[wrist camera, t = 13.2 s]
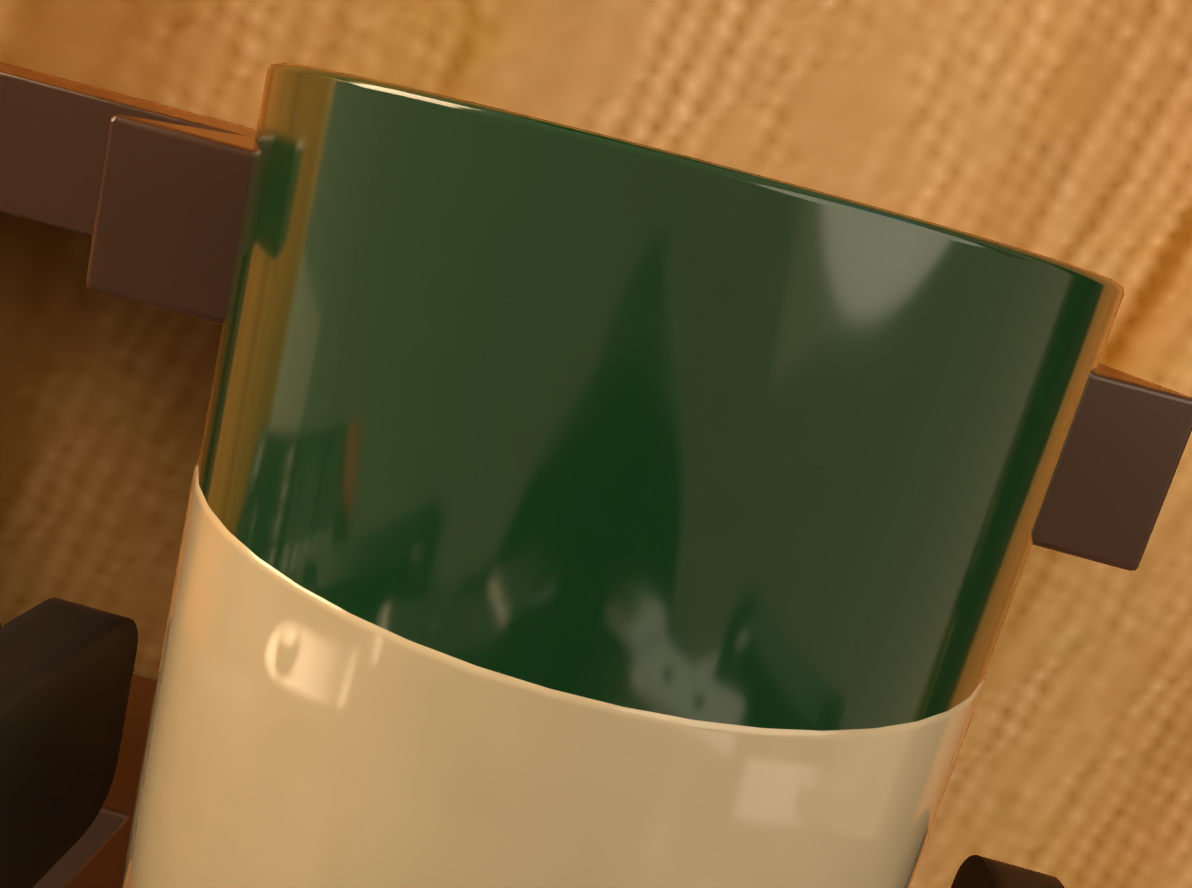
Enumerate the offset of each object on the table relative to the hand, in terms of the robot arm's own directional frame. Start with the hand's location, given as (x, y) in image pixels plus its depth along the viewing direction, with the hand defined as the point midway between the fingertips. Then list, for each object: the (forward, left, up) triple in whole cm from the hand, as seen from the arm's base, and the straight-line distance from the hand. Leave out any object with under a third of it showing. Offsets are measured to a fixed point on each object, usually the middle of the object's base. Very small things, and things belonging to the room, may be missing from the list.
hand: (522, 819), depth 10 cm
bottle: (-3, 0, -2) cm, 4 cm away
